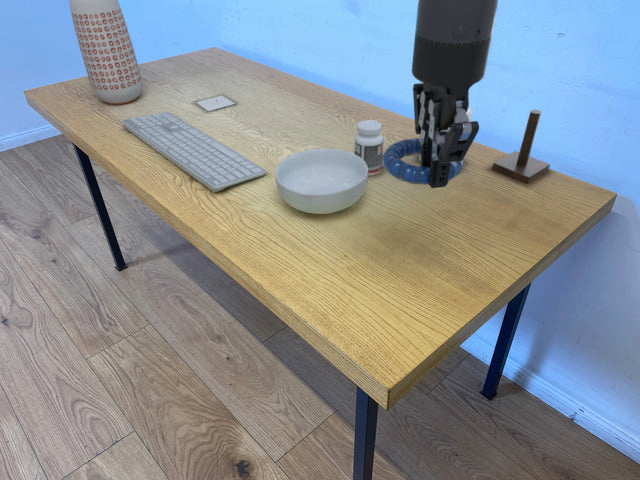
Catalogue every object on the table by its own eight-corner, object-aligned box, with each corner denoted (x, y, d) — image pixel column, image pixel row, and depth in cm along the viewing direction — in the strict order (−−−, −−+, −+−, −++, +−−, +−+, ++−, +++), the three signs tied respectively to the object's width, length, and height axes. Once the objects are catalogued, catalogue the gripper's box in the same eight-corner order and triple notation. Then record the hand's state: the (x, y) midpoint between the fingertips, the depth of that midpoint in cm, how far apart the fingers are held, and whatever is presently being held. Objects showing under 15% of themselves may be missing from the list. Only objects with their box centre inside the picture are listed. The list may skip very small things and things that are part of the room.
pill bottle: (385, 166, 99) (388, 121, 93) (376, 178, 95) (379, 132, 89) (359, 161, 101) (361, 117, 95) (349, 173, 97) (350, 128, 91)
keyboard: (268, 175, 97) (267, 165, 96) (216, 197, 91) (214, 187, 89) (168, 114, 124) (166, 105, 122) (122, 128, 117) (119, 119, 116)
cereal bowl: (312, 171, 98) (311, 139, 94) (383, 194, 90) (385, 161, 86) (259, 209, 87) (255, 175, 83) (333, 239, 79) (333, 204, 75)
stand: (548, 170, 96) (566, 112, 89) (527, 184, 92) (544, 124, 85) (513, 156, 101) (527, 100, 94) (491, 169, 97) (505, 111, 90)
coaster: (195, 102, 129) (195, 99, 129) (221, 95, 133) (221, 92, 133) (208, 111, 124) (207, 108, 124) (235, 103, 128) (234, 101, 127)
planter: (156, 94, 135) (129, -16, 118) (122, 111, 126) (88, -6, 108) (120, 88, 140) (90, -19, 122) (85, 104, 130) (47, -10, 113)
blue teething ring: (477, 168, 61) (480, 152, 59) (427, 197, 55) (429, 181, 54) (416, 143, 67) (417, 128, 65) (365, 167, 61) (366, 152, 60)
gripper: (524, 45, 42) (487, 206, 53) (460, 11, 53) (440, 151, 64) (444, 51, 41) (422, 214, 52) (396, 16, 52) (386, 156, 63)
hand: (432, 179), depth 58 cm, fingers closed on blue teething ring, 2 cm apart
